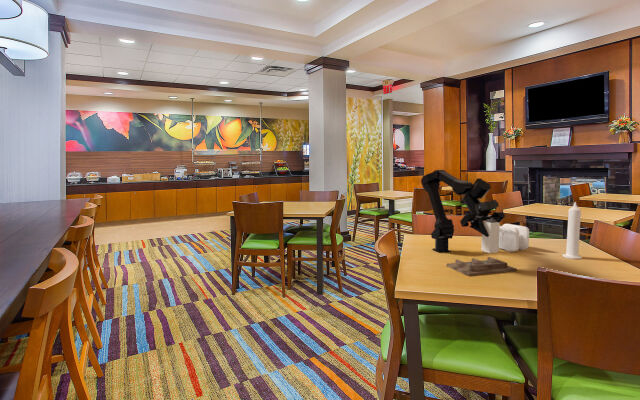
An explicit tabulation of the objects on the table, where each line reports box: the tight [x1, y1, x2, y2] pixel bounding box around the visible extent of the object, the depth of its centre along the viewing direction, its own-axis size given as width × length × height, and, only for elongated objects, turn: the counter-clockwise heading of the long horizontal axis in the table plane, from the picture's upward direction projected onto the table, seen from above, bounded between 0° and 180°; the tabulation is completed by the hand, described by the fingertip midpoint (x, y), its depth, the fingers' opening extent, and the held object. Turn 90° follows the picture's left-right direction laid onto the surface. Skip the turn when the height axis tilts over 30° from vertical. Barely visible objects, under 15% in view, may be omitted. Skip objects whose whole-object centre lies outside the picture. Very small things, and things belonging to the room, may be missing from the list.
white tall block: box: [480, 219, 501, 254], centre depth 147 cm, size 4×4×13 cm
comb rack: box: [446, 256, 518, 277], centre depth 147 cm, size 14×22×3 cm, turn 104°
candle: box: [562, 201, 583, 260], centre depth 163 cm, size 7×7×25 cm
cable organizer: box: [499, 223, 530, 253], centre depth 180 cm, size 15×11×12 cm
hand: (492, 235), depth 146 cm, fingers closed on white tall block, 4 cm apart
